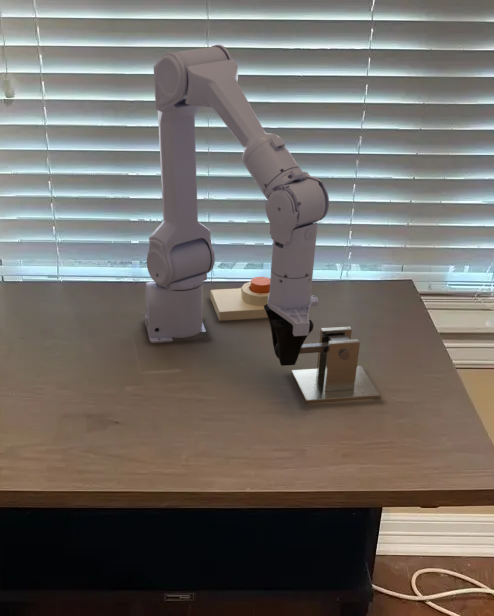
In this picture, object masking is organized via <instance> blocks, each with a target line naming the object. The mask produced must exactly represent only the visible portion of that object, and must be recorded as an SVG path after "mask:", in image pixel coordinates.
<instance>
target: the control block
mask: <svg viewBox="0 0 494 616" xmlns="http://www.w3.org/2000/svg"><path fill="white" fill-rule="evenodd" d="M250 289H251V281H247V282H245V283H244V284H243V285H242V286H241V287H238V288H219V289H210V294H209V295H210V296H209V298H210V301H211V303H212V306H213V308H214V311H215V313H216V316H217V319H218V321H220V322H224V321H238V320H254V319H256V320H257V319H268V316H267V313H266V311H265V309H264V305H266V304H267V301H268V296H269V293H254V292H252V291H251V290H250Z"/></svg>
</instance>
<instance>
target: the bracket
mask: <svg viewBox="0 0 494 616" xmlns="http://www.w3.org/2000/svg"><path fill="white" fill-rule="evenodd" d="M352 331H353V329H352V327H351V326H336V327H321V328H320V334H319V342H318V343H326V342H328V350H327V352H317V363H316V368H303V369H292V370H291V373H290V374H291V376H292V378H293V380H294V382H295V384H296V386H297V388H298V390H299V392H300V394H301V396H302V399H303V400H304V402H305V404H316V403H317V404H319V403H320V404H321V403H332V402H345V401H346V402H347V401H358V400H372V399H373V400H374V399H380V396H381V395H380V392H379V391H378V389H377V388H376V386H375V385H374V383H373V382H372V380H371V379H370V377H369V375H368V374H367V372H366V371H365V369H364V368H363V366H362V365H358V363H359V362H358V360H359V353H360V346H361V341H360V340H359V338H353V339H352ZM337 335H347V336H348V337H349V339H350V340H335V341H328V336H337Z"/></svg>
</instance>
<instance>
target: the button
mask: <svg viewBox="0 0 494 616" xmlns="http://www.w3.org/2000/svg"><path fill="white" fill-rule="evenodd" d="M250 282H251V289H250V290H251V291H252V292H254V293H269V292H270V277H265V276H256V277H252V278H251V280H250Z"/></svg>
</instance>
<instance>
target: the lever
mask: <svg viewBox="0 0 494 616" xmlns="http://www.w3.org/2000/svg"><path fill="white" fill-rule="evenodd" d="M335 340H350V339H349V337H348V336H347V335H337V336H328V341H335ZM327 350H328V342H326V343H319V342H315V343H313V342H312V343H303V345H302V347H301V350H300V353H299V355H301V354H304V355H305V354H318V352H327ZM274 355H275V356H276V358H277V359H278V360H279V353H278V343H277V344H276V346H275V351H274Z"/></svg>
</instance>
